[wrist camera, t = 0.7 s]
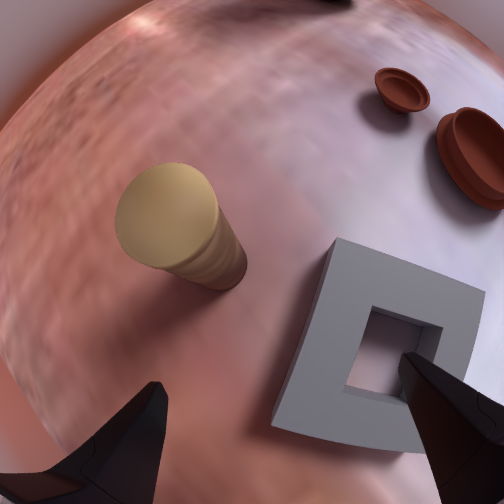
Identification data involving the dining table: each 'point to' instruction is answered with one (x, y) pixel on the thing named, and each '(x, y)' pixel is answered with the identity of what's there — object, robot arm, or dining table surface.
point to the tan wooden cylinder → (179, 227)
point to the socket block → (349, 338)
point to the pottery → (455, 138)
